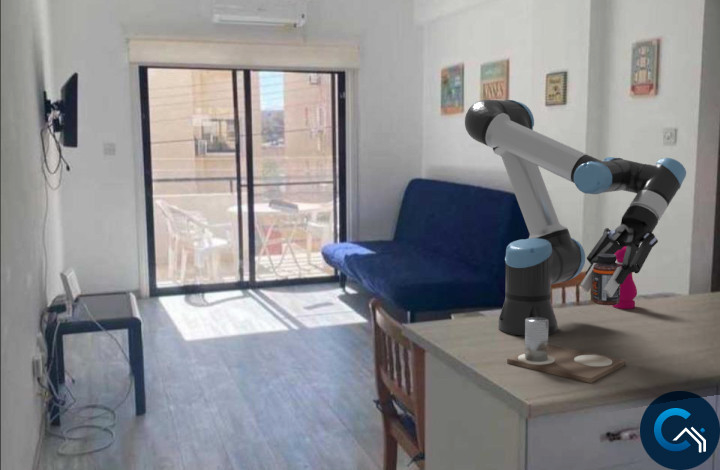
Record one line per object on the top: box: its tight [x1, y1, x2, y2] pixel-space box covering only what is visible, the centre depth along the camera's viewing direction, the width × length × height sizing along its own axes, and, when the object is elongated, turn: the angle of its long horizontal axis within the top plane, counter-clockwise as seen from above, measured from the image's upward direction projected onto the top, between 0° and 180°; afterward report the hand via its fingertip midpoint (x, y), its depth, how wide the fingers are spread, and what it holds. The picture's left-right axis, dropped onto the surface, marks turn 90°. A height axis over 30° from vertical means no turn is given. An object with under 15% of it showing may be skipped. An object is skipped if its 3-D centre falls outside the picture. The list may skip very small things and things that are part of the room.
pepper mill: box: [611, 246, 638, 310], centre depth 207 cm, size 7×7×20 cm
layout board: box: [506, 343, 626, 384], centre depth 156 cm, size 20×16×1 cm
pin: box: [524, 317, 549, 362], centre depth 156 cm, size 5×5×9 cm
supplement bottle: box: [592, 254, 620, 306], centre depth 161 cm, size 6×6×11 cm
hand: (595, 290), depth 160 cm, fingers closed on supplement bottle, 6 cm apart
